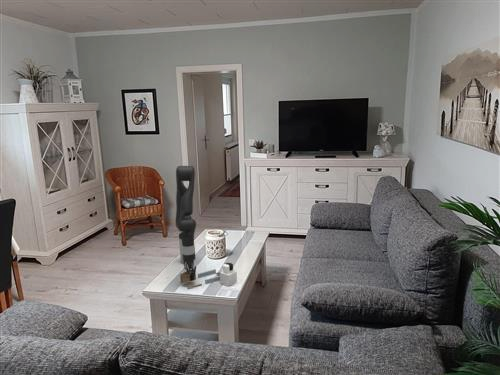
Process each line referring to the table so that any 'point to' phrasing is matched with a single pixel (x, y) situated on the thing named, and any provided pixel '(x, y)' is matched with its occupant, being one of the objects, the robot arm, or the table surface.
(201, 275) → the channel
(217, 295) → the table surface
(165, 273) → the table surface
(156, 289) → the table surface
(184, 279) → the block
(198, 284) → the strips
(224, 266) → the medicine bottle
